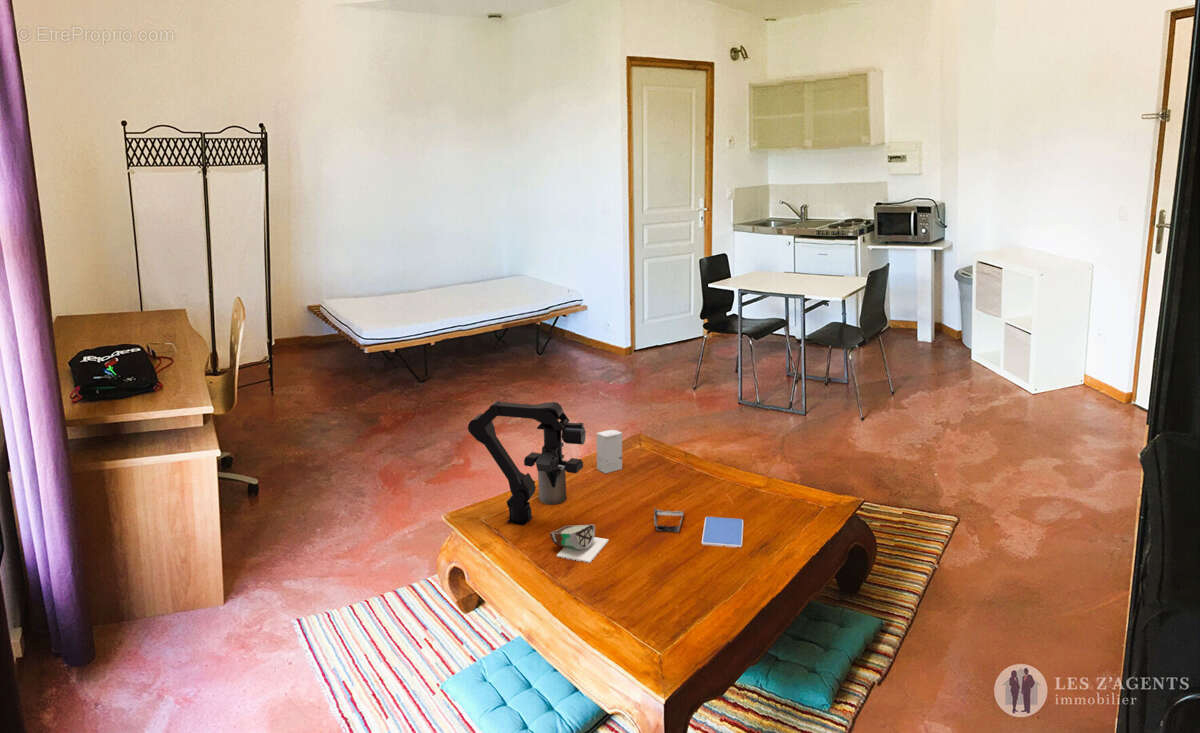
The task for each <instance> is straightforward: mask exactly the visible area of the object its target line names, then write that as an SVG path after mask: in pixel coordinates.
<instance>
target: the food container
mask: <svg viewBox="0 0 1200 733" xmlns="http://www.w3.org/2000/svg"><path fill="white" fill-rule="evenodd" d="M595 533H596V525H595V524H591V523H590V524H579V525H578V524H577V525H575V524H574V525H573V524H572V525H565V526H562V527H560V528H558V529H557V530H554V531H552V532H550V533H549V535H550V539H551V541H552V543H553V544H554V545H555V546H558V547H559V546H560V547H565V546H568V547H575V548H576V549H578V550H581V549H585V548H587V547H589V546H590V545H591V544H592V542H593V539H594V537H595V536H596V535H595Z"/></svg>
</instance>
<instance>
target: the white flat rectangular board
mask: <svg viewBox="0 0 1200 733" xmlns="http://www.w3.org/2000/svg"><path fill="white" fill-rule="evenodd" d="M609 540H610V539H608V538H603V537H602V538H601V537H597V536H594V539H593V542H592V544H591V545H590V546H589V547H587V548H585V549H581V550H578V549H576V548H575V547H568V546H563V548H562V549H560V551H559V552H558V553H557V554H556V557H557V558H559V557H561V559H565V558H566V560H570V559H571V561H575V560H576V561H577V562H581V561H583V562H582V563H586V562H587V563H586V564H591V563H592V562H593V561H592V560H594V559H595V558H596V557H597V556H598V555H599V554H600V552H601V551H602V550H603V548H604V547H605V546H606V545H607V544H608V543H609V542H610V541H609ZM597 554H598V555H597Z"/></svg>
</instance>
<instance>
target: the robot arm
mask: <svg viewBox="0 0 1200 733" xmlns="http://www.w3.org/2000/svg"><path fill="white" fill-rule="evenodd" d="M497 417H508V418H509V417H510V418H516V419H517V418H518V419H530V420H535V421H536V422H538V423H540V424H538V425H537V427H536V429H537V430H542V431H543V446H542V447H541V453H539V452H533V451H532V452H530V453H529V454H528V455H527V456H525V457H524V458H523V459H524V460H523V465H524V466H525V467H531V468H532V467H534V466H535V465H536V470H537V472H538V471H544V472H545V473H546V474H547V476H548V478H549V480H550V483H551V485H552V487H554V488H555V487H556V485H557V482H558V480H559V477H560V475H561V473H562V471H563V470H565V472H566V473H568V474H578V473H579V471H581V470H582V469H583V467H584V462H583V460H582V459H581V458H575V457H571V458H570V459H569V460H565V459H564V458H565V455H564V454H563V447H564V445H565V444H567V445H569V444H571V445H581V446H583V445H584V444H585V442H586V437H587V436H586V434H587V432H586V429H585V427H584V423H583V422H570V419H569V418H568V416H567V415H566V413H565V412H564V410H563V407H562V405H561V404H560V403H559V402H556V401H551V402H549V401H547V402H542V403H538V404H529V403H518V402H517V403H516V402H505V401H504V402H503V401H500V400H498V401H497V400H496V401H494V402H493V403H492V404H491V405H490V406H489V408H488V409H486V410H485V411H484V412H483V413H479V414H477V415H476V416H475V417H474V418H472V420H470V421H469V423H468V424H467V429H468V432H469V433H470V435H471V436H472V437H473V438H474V440H476V441H478V443H481V444H483V445H484V446H485V448H486V450H487V451H488V453H489V454H490V456H491V457H492V459H493V460H494V462H495V463H496V464H497V466H498V468H500V471H501V472H502V473H503V475H504V476H505V477H506V479H507V481H508V486H509V491H510V493H511V495H510V497H509V498H508V499H507V500H506V505H507V507H508V517H509V519H507V520H506V522H507V523H509V524H515V525H521V526H525V525H526V524H527V523H529V522H530V520H532V519H533V515H532V507H531V504H530V503H531V502H530V499H531V498H532V497H533V495H535V492H536V484H535V483H536V481H535V480H533V478H532V476H531V474H530V473H529V472H527V473H526V474H525V473H523V472H521V471H520V470H519V468H518V466H517V465H516V464H515V462H514V460H513V458H511V456H510V455H509V453H508V451H507V450H506V449H505V447H504V446H503V444H502V442H501V441H500V439H499V438H498V437H497V434H496V428H495V426H494V423H493V420H494V419H496V418H497ZM559 420H560V421H559ZM564 443H565V444H564Z"/></svg>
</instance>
